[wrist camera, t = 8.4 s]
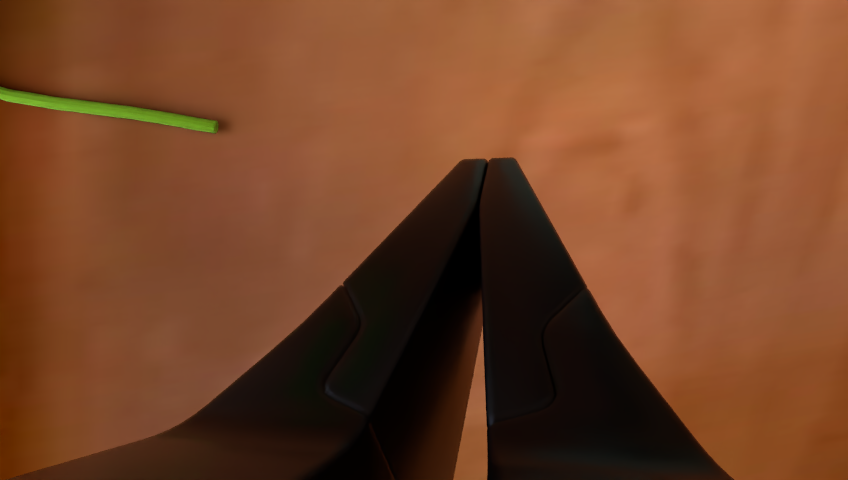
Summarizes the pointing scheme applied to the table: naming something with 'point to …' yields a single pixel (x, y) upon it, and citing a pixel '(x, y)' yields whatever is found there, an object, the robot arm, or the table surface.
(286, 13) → the table surface
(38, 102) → the decorative flower
